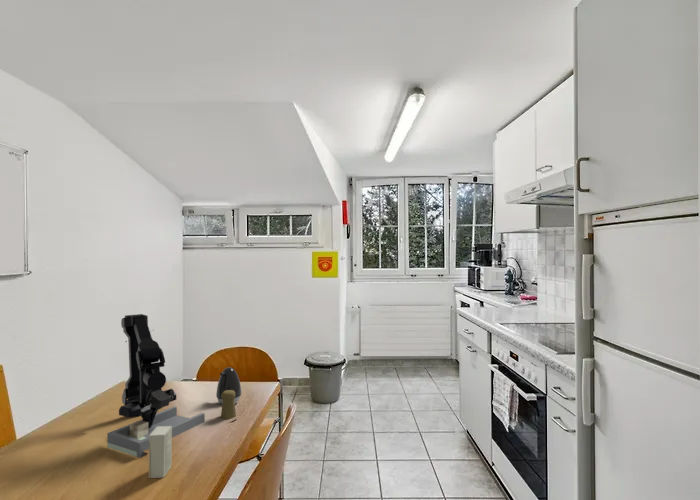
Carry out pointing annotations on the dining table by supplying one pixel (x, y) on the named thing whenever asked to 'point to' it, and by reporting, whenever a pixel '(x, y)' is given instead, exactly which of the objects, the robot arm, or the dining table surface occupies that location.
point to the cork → (228, 405)
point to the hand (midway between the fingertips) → (149, 427)
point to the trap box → (165, 418)
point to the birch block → (138, 429)
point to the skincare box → (160, 451)
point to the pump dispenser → (228, 384)
